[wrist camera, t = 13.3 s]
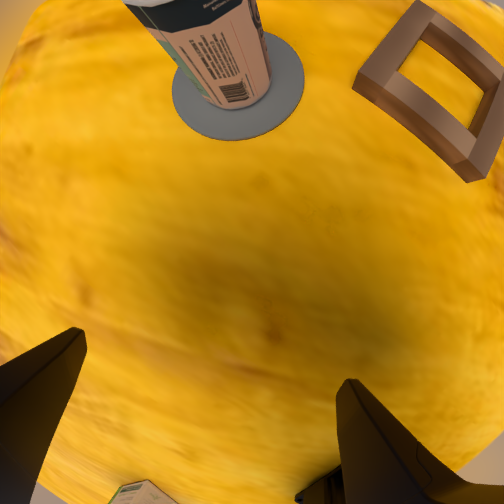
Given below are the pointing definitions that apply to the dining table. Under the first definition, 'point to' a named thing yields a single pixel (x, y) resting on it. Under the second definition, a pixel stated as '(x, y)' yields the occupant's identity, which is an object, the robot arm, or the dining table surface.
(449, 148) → the socket block
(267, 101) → the coaster
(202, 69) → the beer can
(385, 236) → the dining table surface
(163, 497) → the syrup box
